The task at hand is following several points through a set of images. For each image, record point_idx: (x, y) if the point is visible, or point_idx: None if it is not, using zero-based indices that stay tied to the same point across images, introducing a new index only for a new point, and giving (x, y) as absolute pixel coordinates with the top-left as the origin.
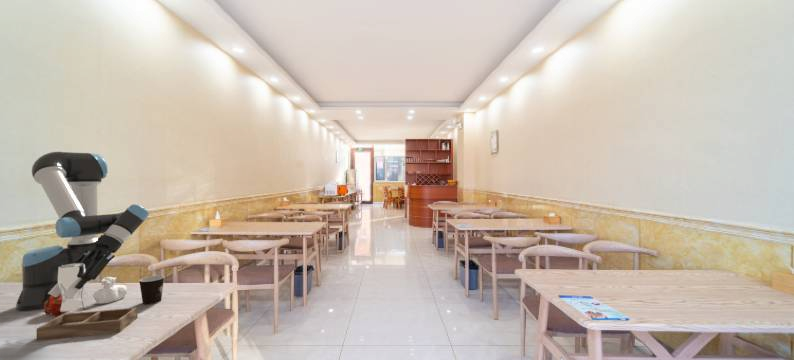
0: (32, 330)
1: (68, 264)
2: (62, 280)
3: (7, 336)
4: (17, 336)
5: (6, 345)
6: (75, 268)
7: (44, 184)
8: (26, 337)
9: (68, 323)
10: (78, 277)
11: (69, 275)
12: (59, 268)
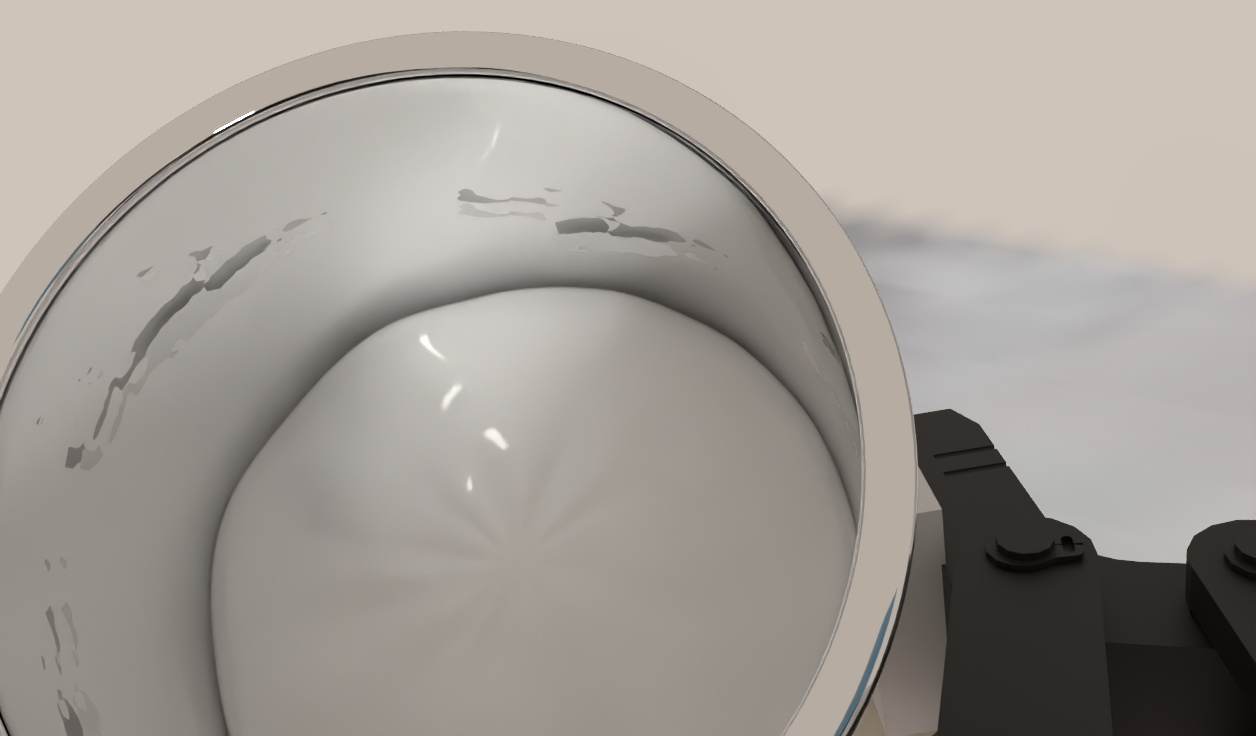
0: (1162, 468)
1: (868, 466)
2: (383, 295)
3: (1180, 277)
4: (1074, 329)
5: (857, 213)
6: (2, 456)
7: None
8: (938, 367)
9: (880, 733)
10: (172, 613)
11: (198, 366)
12: (405, 48)
